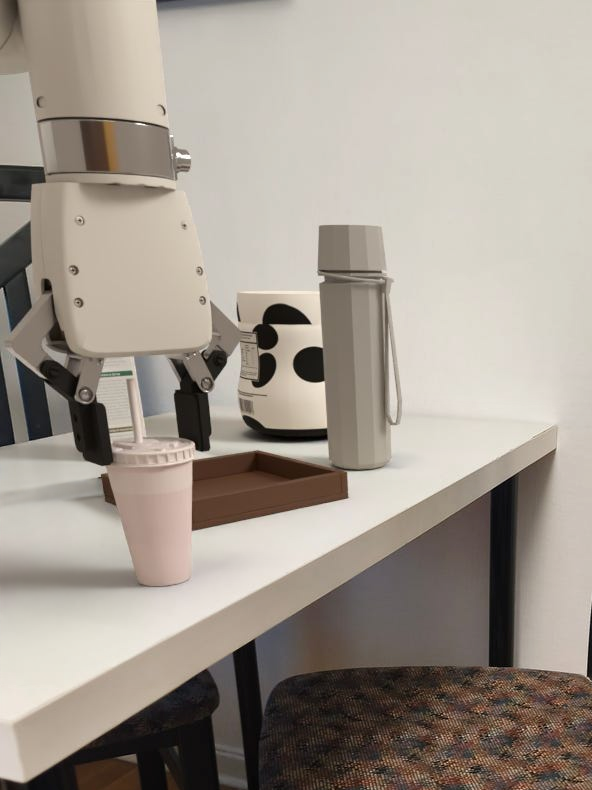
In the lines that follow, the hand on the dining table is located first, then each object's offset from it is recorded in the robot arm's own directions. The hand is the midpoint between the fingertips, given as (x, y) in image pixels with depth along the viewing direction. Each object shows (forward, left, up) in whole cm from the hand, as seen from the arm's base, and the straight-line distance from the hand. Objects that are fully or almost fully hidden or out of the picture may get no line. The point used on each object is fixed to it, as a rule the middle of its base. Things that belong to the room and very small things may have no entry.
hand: (148, 453), depth 61 cm
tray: (+16, +18, -9) cm, 26 cm away
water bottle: (+36, +21, -9) cm, 43 cm away
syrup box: (+14, +37, -9) cm, 41 cm away
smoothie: (0, 0, -9) cm, 9 cm away
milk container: (+44, +44, -9) cm, 63 cm away
